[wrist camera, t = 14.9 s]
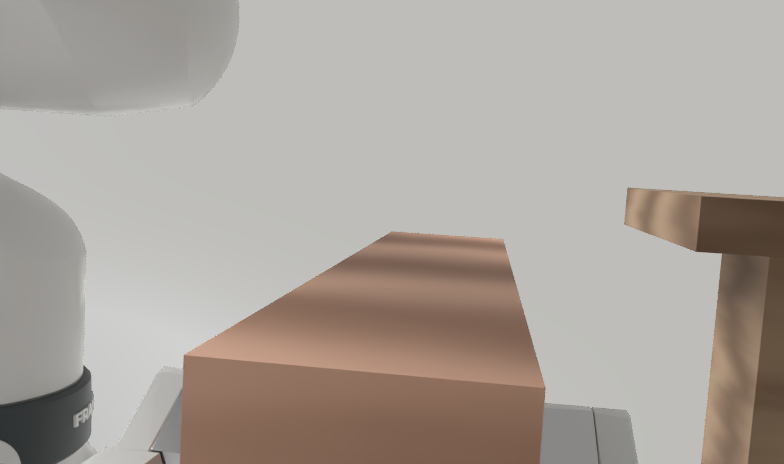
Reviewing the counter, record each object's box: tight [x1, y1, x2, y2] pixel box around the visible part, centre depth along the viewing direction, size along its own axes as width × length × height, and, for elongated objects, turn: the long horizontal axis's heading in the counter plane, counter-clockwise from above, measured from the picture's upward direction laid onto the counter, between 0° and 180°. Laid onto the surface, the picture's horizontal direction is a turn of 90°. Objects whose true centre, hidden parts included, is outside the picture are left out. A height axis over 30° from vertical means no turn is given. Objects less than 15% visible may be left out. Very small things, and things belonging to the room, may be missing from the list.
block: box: [180, 232, 545, 464], centre depth 18 cm, size 19×4×4 cm, turn 173°
